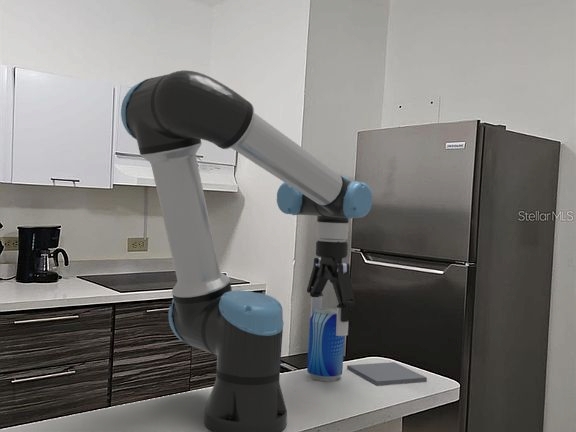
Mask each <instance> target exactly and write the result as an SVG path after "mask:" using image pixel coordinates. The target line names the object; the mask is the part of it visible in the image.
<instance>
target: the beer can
mask: <svg viewBox="0 0 576 432" xmlns="http://www.w3.org/2000/svg"><path fill="white" fill-rule="evenodd" d="M314 311H315V312H314V313H313V315H312V316H311V315H310V316H311V318H309V332H308V349H307V351H308V352H307V366H306V371H307V373H308V374H309V375H308V376H309V377H310V379H313V380H315V381H320V382H336V381H338V380H339V379H340V377H341V376H342V375H343V369H344V368H343V367H344V352H345V351H344V349H345V336H336V321H337V308H330V307H328V308H327V307H322V308H317V309H315V310H314Z"/></svg>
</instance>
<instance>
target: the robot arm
mask: <svg viewBox="0 0 576 432" xmlns="http://www.w3.org/2000/svg"><path fill="white" fill-rule="evenodd" d="M120 107H121V108H120V117H121V122H122V125H123V127H124V129H125V131H126V133H127V134H128V135H130V136H131V137H132V138H134V139H135V140H136V142H137V147H138V151H139V154H140V157H142V158H143V159H145V160H146V161H147V162H149V163H150V166H151V170H152V173H153V178H154V184H155V187H156V193H157V197H158V200H159V204H160V209H161V214H162V219H163V223H164V228H165V232H166V235H167V236H166V237H167V240H168V244H169V245H168V246H169V250H170V254H171V258H172V263H173V267H174V272H175V276H176V281H177V282H176V283H175V285H174V286H173V288H172V289H171V293H172V300H171V305H169V307H168V315H167V316H168V323H169V326H170V328H171V330H172V333H173V334H174V336H176V337H177V339H179V340H180V341H181V342H183V343H184V344H186V345H187V346H190V347H192V348H194V349H199V350H202V351H204V352H206V353H209V354H212V355H214V356H216V375H215V382H214V384H213V387H212V389H211V392H210V395H209V398H208V400H207V403H206V406H205V408H204V409H205V410H204V418H203V420H204V421H203V422H204V425H205V427H207V429H209V430H211V431H212V432H282V431H284V429H285V428H286V427H287V424H288V423H287V420H288V411H287V406H286V403H285V398H284V396H283V392H282V391H283V390H282V387H281V384H280V374H281V373H280V372H281V362H282V359H281V358H282V344H283V333H284V331H283V330H284V324H285V323H284V320H283V317H284V316H283V307H282V304H281V303H280V301H279V300H277V299H276V298H274V297H272V296H270V295H268V294H265V293H262V292H254V291H251V290H233V289H232V288H233V287H232V284H231V279H230V277H229V275H226V274H225V273H223V272H221V269H220V265H219V260H218V259H219V258H218V255H217V249H216V246H215V241H214V236H213V231H212V226H211V222H210V217H209V212H208V207H207V203H206V197H205V194H204V188H203V185H202V184H203V183H202V179H201V175H200V169H199V163H198V160H197V152H199V149H200V148H201V146H202V140H203V141H206V142H209V143H212V144H214V145H215V146H217V147H219V148H220V149H221V150H228V149H229V150H230V149H232V150H234V151H235V152H237V153H239V155H241V156H243V157H244V158H246V159H248V160H249V161H251V162H252V163H253V164H255V165H257V166H258V167H260V168H261V169H263V170H265V171H266V172H268V173H270V174H271V175H272V176H274V177H275V178H277V179H279V180H280V181H282V183H281V185H279V188H278V189H277V192H276V205H277V207H278V209H279V210H280V211H281V213H283V214H285V215H292V216H313V217H316V235H315V237H316V239H318V240H316V244H315V256H317V257H314V259H313V265H312V266H313V267H312V269H311V270H312V271H311V274H310V277H309V280H308V281H309V282H308V285H307V287H306V292H307V293H308V294H309V296H310V298H311V299H310V318H311V316H312V315H313V313H314V312H315V311H314V310H315V309H317V308H323V296H324V294H323V291H324V289H325V286H326V285H327V283H328V281H329V282H330V283H331V284H332V286H333V287H332V288H333V290H334V293H335V296H336V300H337V302H338V304H337V305H336V309H337V321H336V336H344V337H345V336H348V335H349V318H350V308H351V307H355V306H356V300H355V299H356V298H355V294H354V288H353V283H352V279H351V272H350V271H351V269H350V267H351V266H350V264H349V263H346V262H345V263H344V262H343V259H344V258H347V257H348V250H349V249H348V246H349V245H348V244H349V243H348V242H347V240H348V238H349V229H350V227H349V222H350V221H349V220H350V219H360V218H364V217H365V216H367V215H368V213H370V211H371V209H372V205H373V201H374V200H373V199H374V197H373V192H372V189H371V188H370V186H369V185H368V184H366V183H365V182H362V181H358V180H357V181H356V180H352V181H350V178H349V177H348V176H346V175H340V173H338V172H336V170H334V169H332V168H331V167H329V166H328V165H327V164H326V163H324V162H323V161H322V160H320V159H318V158H317V157H316V156H314V155H313V154H311V153H310V152H309V151H307V149H305V148H303V147H302V146H301V145H299V144H298V143H297V142H295V141H293V139H291V138H289V137H288V136H287V135H285V134H284V133H283V132H282V131H280V130H278V129H277V128H276V127H274V126H273V125H272V124H270V123H269V122H267V120H265V119H264V118H262V117H261V116H260V115H258V114H257V113H255V107H254V105H253V104H252V103H251V102H250V101H249V100H247V99H246V98H244V97H243V96H242V95H241V94H239V93H238V92H236V91H235V90H233V89H232V88H230V87H229V86H227V85H225V84H223V83H222V82H220V81H218V80H216V79H214V78H212V77H210V76H209V75H206V74H204V73H202V72H201V73H200V72H198V71H194V70H187V69H185V70H178V71H174V72H170V73H168V74H163V75H159V76H155V77H150V78H146V79H145V78H144V80H142V81H140V82H138V83H137V84H135V85H133V86H132V87H130V88H129V89H128V91H127V93H126V94H125V96H124V97H123V100H122V103H121V106H120ZM310 318H309V319H310Z"/></svg>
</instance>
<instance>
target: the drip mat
mask: <svg viewBox="0 0 576 432" xmlns="http://www.w3.org/2000/svg"><path fill="white" fill-rule="evenodd" d="M346 368H347V369H346V370H347V371H350V372H352V373H354V374H356V375H357V376H359V377H360V378H362V379H364V380H365V381H367V382H369V383H371V384H373V385H375V386H376V387H378V386H390V384H391V385H401V384H403V383H404V384H413V383H414V384H415V383H427V381H428V378H427V376H424V375H422V374H420V373H419V372H416V371H414V370H412V369H409V368H407V367H406V366H403V365H401V364H398V363H396V362H394V361H389V362H377V363H361V364H348V365H347V366H346Z"/></svg>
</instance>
